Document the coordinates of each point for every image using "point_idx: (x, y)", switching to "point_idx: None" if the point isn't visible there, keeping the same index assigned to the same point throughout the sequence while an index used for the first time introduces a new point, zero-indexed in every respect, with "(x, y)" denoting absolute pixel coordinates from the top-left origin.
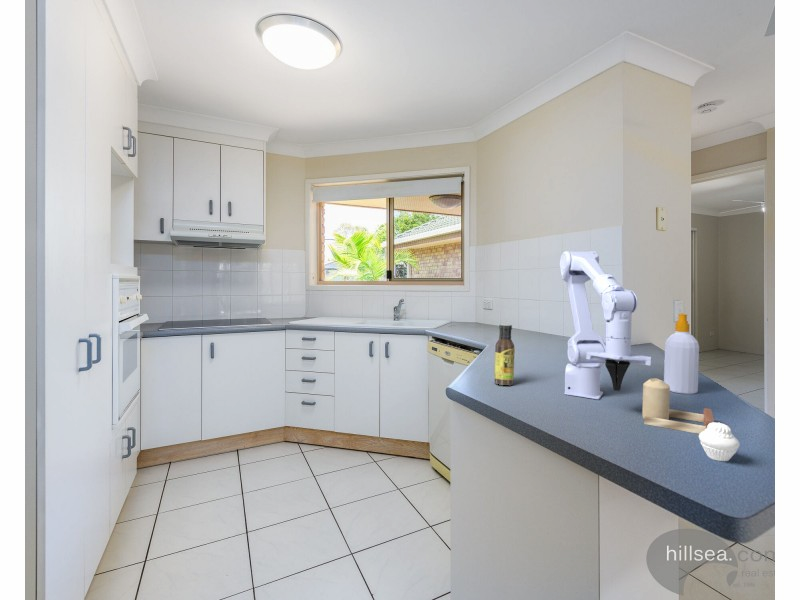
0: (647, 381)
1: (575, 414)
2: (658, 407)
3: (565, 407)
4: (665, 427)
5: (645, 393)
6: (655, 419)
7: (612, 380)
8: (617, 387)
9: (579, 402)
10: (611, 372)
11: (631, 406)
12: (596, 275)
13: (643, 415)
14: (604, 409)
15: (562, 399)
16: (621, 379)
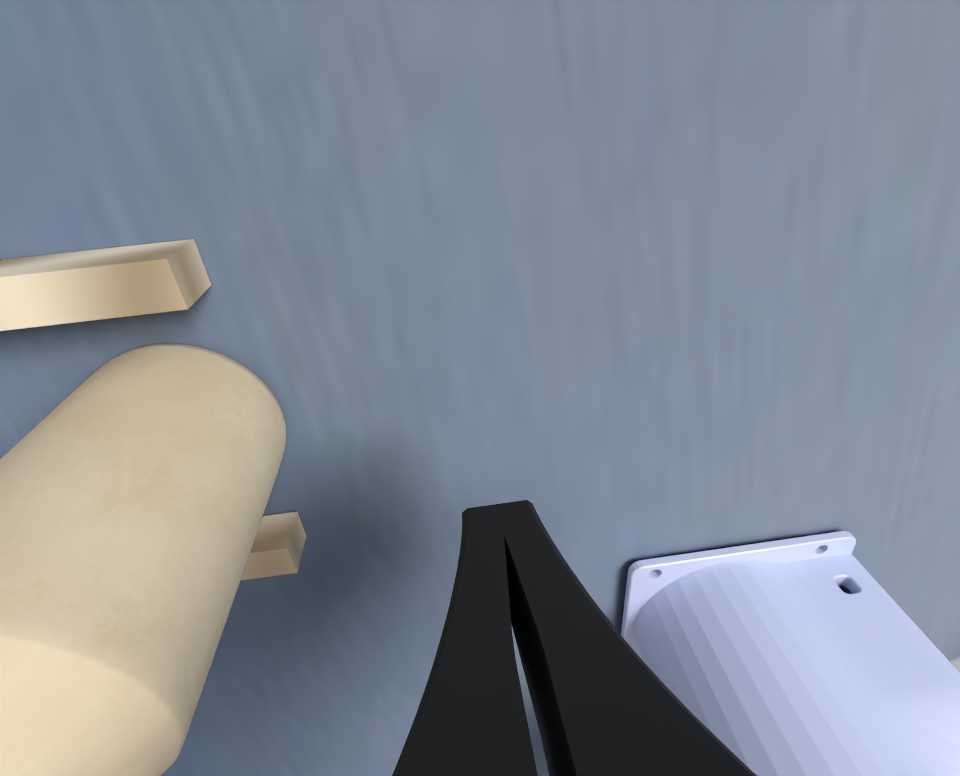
0: (52, 753)
1: (794, 80)
2: (43, 428)
3: (870, 246)
4: (16, 260)
5: (137, 541)
6: (61, 267)
7: (580, 594)
8: (490, 529)
9: (749, 443)
10: (654, 738)
11: (423, 570)
12: None
13: (254, 391)
14: (566, 405)
15: (870, 431)
16: (445, 648)
